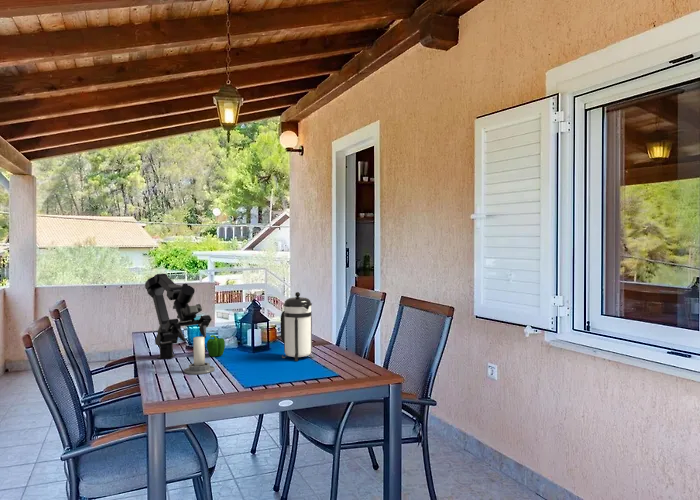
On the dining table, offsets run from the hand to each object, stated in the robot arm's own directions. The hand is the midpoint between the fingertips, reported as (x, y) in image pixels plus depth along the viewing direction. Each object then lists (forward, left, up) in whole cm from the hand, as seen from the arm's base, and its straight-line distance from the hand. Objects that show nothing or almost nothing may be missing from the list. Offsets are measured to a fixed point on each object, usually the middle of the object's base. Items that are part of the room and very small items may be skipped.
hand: (195, 339), depth 221 cm
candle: (+2, +2, -12) cm, 12 cm away
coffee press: (-21, +39, -13) cm, 47 cm away
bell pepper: (-25, +1, -13) cm, 29 cm away
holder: (+3, +2, -13) cm, 13 cm away
